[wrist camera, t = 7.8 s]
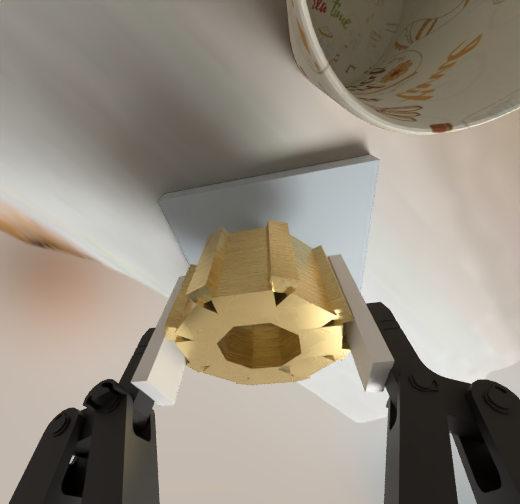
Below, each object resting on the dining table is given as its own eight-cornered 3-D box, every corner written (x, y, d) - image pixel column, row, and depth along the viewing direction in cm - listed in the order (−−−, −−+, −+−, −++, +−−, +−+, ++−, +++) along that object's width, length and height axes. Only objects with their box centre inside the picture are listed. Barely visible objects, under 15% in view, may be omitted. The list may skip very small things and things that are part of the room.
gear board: (164, 193, 17) (116, 241, 11) (370, 154, 15) (434, 188, 10) (230, 332, 29) (222, 390, 23) (351, 320, 27) (374, 379, 21)
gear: (170, 233, 12) (126, 298, 8) (327, 207, 11) (363, 267, 7) (217, 325, 18) (204, 392, 14) (327, 313, 17) (348, 381, 13)
